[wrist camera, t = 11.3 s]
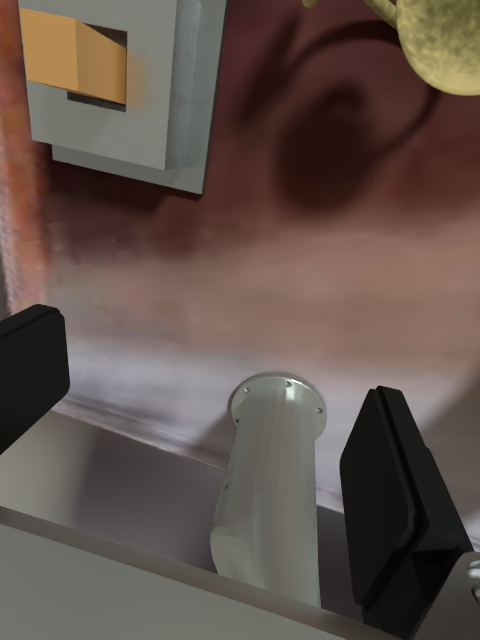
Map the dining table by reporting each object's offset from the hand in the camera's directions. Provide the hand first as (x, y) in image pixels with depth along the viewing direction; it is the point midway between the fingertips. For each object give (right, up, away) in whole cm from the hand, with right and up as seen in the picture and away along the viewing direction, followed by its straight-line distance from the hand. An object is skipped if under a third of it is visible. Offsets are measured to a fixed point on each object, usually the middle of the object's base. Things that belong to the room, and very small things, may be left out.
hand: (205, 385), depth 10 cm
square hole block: (-9, +24, +20) cm, 32 cm away
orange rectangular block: (-9, +23, +19) cm, 31 cm away
